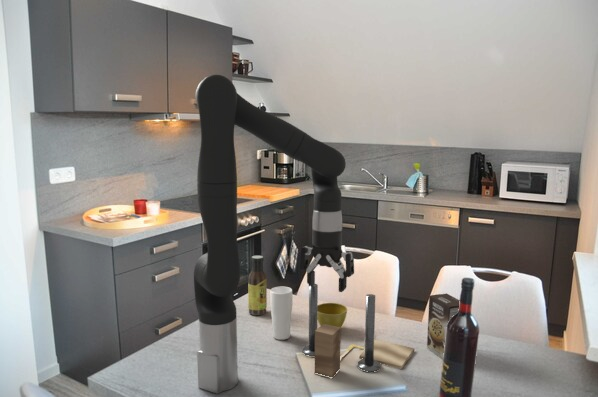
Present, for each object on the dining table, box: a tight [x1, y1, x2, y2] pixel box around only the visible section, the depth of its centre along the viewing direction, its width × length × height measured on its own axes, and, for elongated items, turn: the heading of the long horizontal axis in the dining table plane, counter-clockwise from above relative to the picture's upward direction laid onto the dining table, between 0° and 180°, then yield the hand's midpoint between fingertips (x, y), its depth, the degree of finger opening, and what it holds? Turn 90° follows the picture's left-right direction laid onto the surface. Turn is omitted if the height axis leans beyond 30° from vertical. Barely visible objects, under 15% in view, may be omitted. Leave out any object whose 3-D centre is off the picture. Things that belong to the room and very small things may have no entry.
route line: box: [345, 344, 365, 352], centre depth 135 cm, size 12×5×1 cm, turn 151°
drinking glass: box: [269, 285, 294, 341], centre depth 145 cm, size 7×7×15 cm
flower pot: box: [317, 302, 348, 329], centre depth 151 cm, size 10×10×7 cm
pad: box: [359, 338, 415, 370], centre depth 135 cm, size 12×12×1 cm
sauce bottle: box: [247, 255, 268, 316], centre depth 163 cm, size 6×6×20 cm
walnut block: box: [314, 324, 342, 378], centre depth 125 cm, size 5×5×12 cm
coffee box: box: [426, 293, 461, 360], centre depth 135 cm, size 9×6×16 cm
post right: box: [357, 293, 381, 373], centre depth 127 cm, size 6×6×20 cm
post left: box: [302, 283, 319, 356], centre depth 135 cm, size 6×6×20 cm
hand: (326, 288), depth 124 cm, fingers open, 8 cm apart
